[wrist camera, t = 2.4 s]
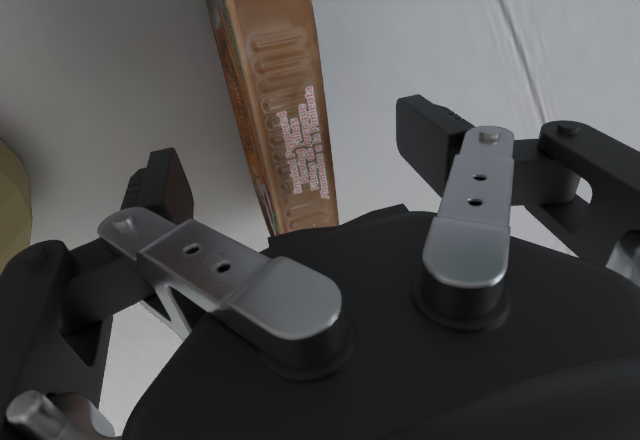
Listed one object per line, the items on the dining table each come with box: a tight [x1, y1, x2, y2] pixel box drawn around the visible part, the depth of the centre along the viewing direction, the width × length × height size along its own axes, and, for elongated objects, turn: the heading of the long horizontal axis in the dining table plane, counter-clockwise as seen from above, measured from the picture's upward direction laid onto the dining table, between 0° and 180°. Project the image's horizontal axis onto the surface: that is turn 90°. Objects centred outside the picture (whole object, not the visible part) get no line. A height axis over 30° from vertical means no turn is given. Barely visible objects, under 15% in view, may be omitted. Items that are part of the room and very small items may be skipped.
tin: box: [206, 0, 339, 237], centre depth 17 cm, size 15×3×8 cm, turn 6°
